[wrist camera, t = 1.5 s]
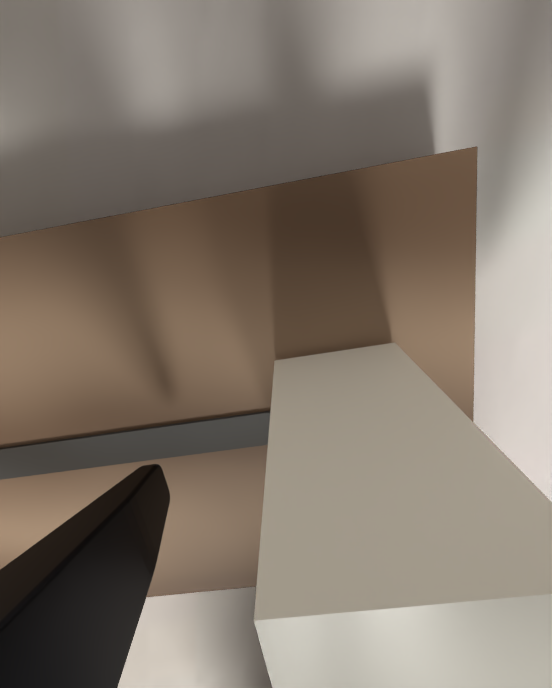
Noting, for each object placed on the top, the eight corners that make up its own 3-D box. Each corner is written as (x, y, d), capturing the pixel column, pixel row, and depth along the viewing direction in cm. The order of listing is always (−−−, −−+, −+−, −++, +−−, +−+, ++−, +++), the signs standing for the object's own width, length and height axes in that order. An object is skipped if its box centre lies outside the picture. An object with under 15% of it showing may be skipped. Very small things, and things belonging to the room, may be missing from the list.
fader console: (443, 515, 13) (474, 571, 11) (-148, 580, 15) (-220, 638, 13) (436, 163, 9) (482, 143, 7) (-355, 313, 11) (-506, 332, 9)
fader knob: (403, 475, 10) (577, 836, 4) (298, 487, 10) (316, 846, 4) (394, 342, 8) (634, 586, 3) (274, 360, 9) (254, 621, 3)
